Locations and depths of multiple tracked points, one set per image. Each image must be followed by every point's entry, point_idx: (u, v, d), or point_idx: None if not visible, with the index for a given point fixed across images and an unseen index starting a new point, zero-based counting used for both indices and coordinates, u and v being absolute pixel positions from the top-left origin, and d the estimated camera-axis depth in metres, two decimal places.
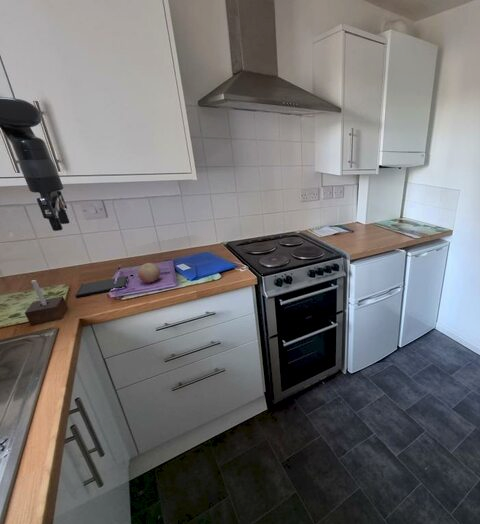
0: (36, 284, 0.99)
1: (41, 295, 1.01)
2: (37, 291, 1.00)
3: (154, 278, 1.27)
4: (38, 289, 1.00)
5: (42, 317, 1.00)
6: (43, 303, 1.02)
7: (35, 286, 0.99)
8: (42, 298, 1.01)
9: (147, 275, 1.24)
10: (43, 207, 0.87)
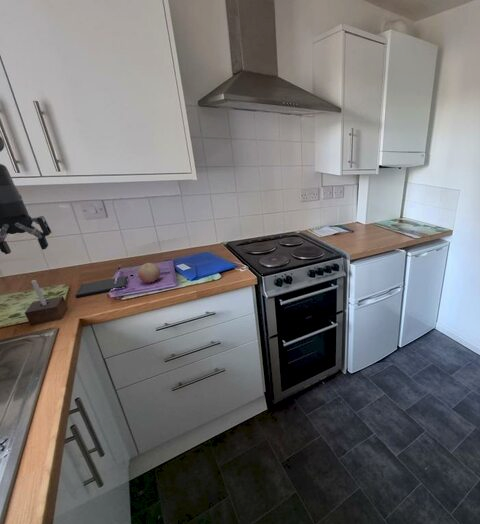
0: (36, 284, 0.99)
1: (41, 295, 1.01)
2: (37, 291, 1.00)
3: (154, 278, 1.27)
4: (38, 289, 1.00)
5: (42, 317, 1.00)
6: (43, 303, 1.02)
7: (35, 286, 0.99)
8: (42, 298, 1.01)
9: (147, 275, 1.24)
10: (45, 224, 0.95)
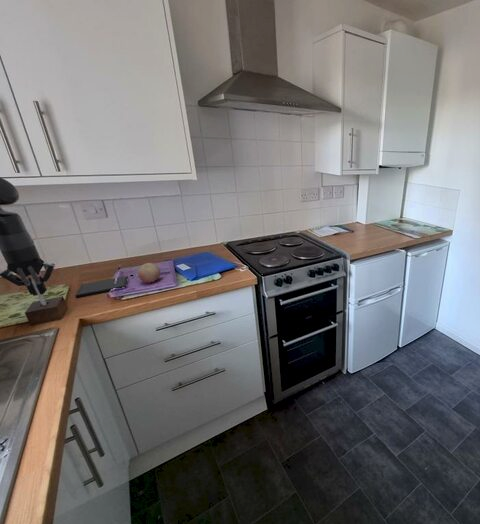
0: (36, 284, 0.99)
1: (41, 295, 1.01)
2: (37, 291, 1.00)
3: (154, 278, 1.27)
4: None
5: (42, 317, 1.00)
6: (43, 303, 1.02)
7: (35, 286, 0.99)
8: (42, 298, 1.01)
9: (147, 275, 1.24)
10: (51, 272, 1.00)
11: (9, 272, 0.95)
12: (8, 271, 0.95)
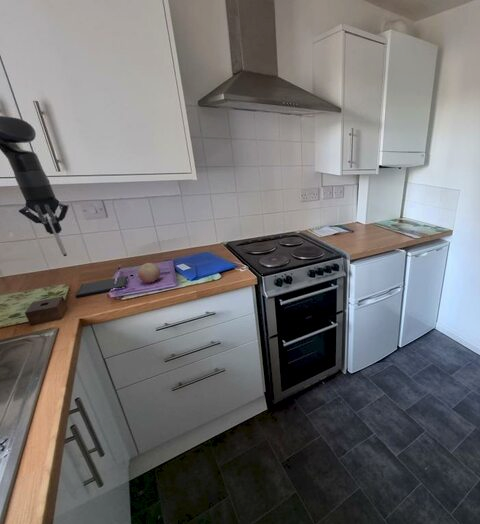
0: (52, 223, 1.06)
1: (57, 234, 1.08)
2: (53, 230, 1.07)
3: (154, 278, 1.27)
4: None
5: (42, 317, 1.00)
6: (59, 242, 1.09)
7: (51, 225, 1.06)
8: (58, 237, 1.08)
9: (147, 275, 1.24)
10: (65, 212, 1.07)
11: (27, 209, 1.02)
12: (26, 208, 1.02)
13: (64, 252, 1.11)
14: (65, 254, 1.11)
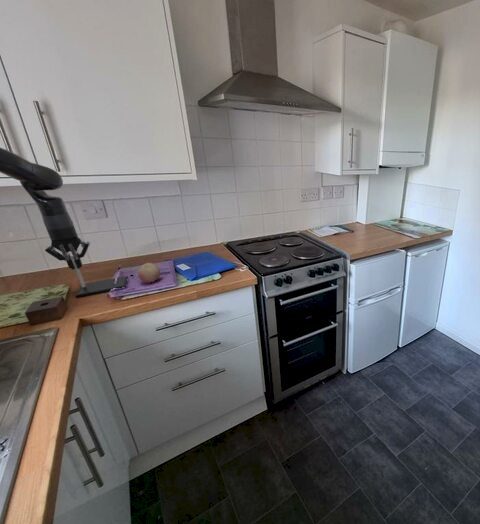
0: (74, 259, 1.16)
1: (78, 269, 1.17)
2: (75, 265, 1.16)
3: (154, 278, 1.27)
4: (75, 264, 1.16)
5: (42, 317, 1.00)
6: (79, 276, 1.18)
7: (73, 261, 1.16)
8: (79, 272, 1.18)
9: (147, 275, 1.24)
10: (86, 249, 1.16)
11: (52, 248, 1.11)
12: (52, 247, 1.11)
13: (84, 285, 1.20)
14: (84, 287, 1.20)
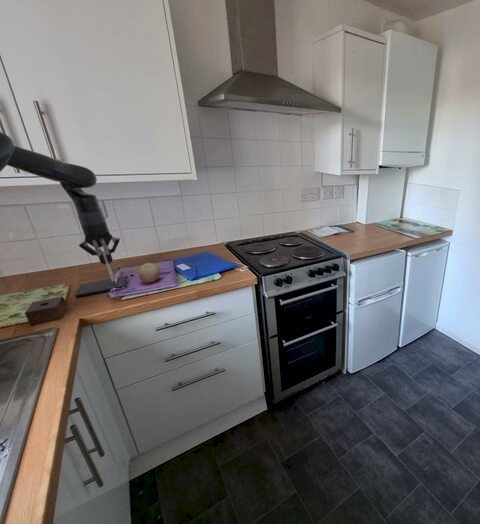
0: (105, 254, 1.20)
1: (108, 264, 1.22)
2: (106, 260, 1.21)
3: (154, 278, 1.27)
4: (106, 258, 1.21)
5: (42, 317, 1.00)
6: (110, 271, 1.23)
7: (104, 256, 1.20)
8: (109, 266, 1.22)
9: (147, 275, 1.24)
10: None
11: (86, 244, 1.16)
12: (85, 243, 1.16)
13: (113, 279, 1.24)
14: (114, 281, 1.25)
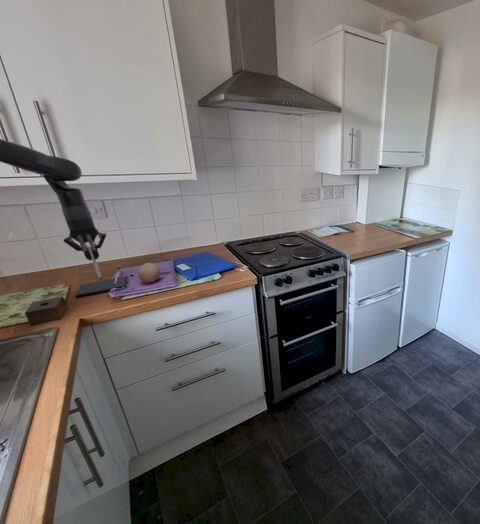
0: (91, 250, 1.17)
1: (95, 260, 1.19)
2: (92, 256, 1.18)
3: (154, 278, 1.27)
4: (92, 254, 1.18)
5: (42, 317, 1.00)
6: (96, 267, 1.20)
7: (90, 251, 1.17)
8: (95, 262, 1.19)
9: (147, 275, 1.24)
10: (103, 240, 1.18)
11: (71, 239, 1.13)
12: (70, 238, 1.13)
13: (100, 276, 1.21)
14: (101, 277, 1.22)
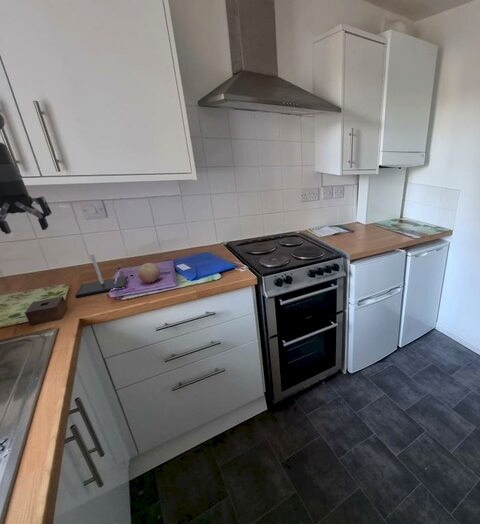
0: (93, 256, 1.18)
1: (97, 266, 1.20)
2: (94, 262, 1.19)
3: (154, 278, 1.27)
4: (95, 261, 1.19)
5: (42, 317, 1.00)
6: (98, 273, 1.21)
7: (93, 258, 1.18)
8: (97, 269, 1.20)
9: (147, 275, 1.24)
10: (46, 205, 0.95)
11: None
12: None
13: (102, 282, 1.23)
14: (103, 283, 1.23)
